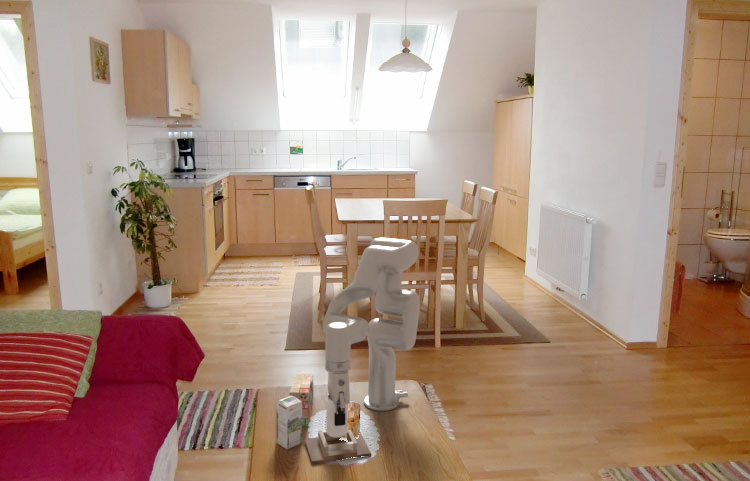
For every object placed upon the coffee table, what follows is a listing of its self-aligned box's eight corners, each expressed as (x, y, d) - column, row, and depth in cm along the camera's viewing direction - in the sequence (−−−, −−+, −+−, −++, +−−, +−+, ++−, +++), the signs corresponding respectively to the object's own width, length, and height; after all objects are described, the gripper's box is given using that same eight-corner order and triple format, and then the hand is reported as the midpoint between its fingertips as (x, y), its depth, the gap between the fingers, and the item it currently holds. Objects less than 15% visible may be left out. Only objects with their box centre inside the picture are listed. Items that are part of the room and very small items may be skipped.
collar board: (360, 434, 187) (360, 423, 186) (371, 456, 175) (371, 443, 174) (304, 441, 182) (304, 430, 182) (312, 464, 170) (311, 451, 169)
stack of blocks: (296, 397, 213) (296, 365, 211) (313, 397, 213) (313, 365, 211) (289, 426, 192) (289, 391, 190) (308, 426, 192) (308, 391, 190)
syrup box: (291, 436, 185) (290, 394, 182) (302, 444, 181) (302, 400, 178) (276, 443, 181) (275, 399, 179) (287, 450, 177) (287, 406, 174)
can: (351, 433, 178) (352, 396, 176) (336, 440, 173) (336, 403, 171) (337, 425, 182) (337, 389, 180) (321, 433, 177) (322, 396, 175)
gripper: (357, 374, 166) (356, 431, 170) (343, 352, 183) (342, 405, 186) (331, 376, 164) (331, 435, 167) (320, 354, 181) (319, 408, 184)
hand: (337, 418), depth 177 cm, fingers closed on can, 6 cm apart
